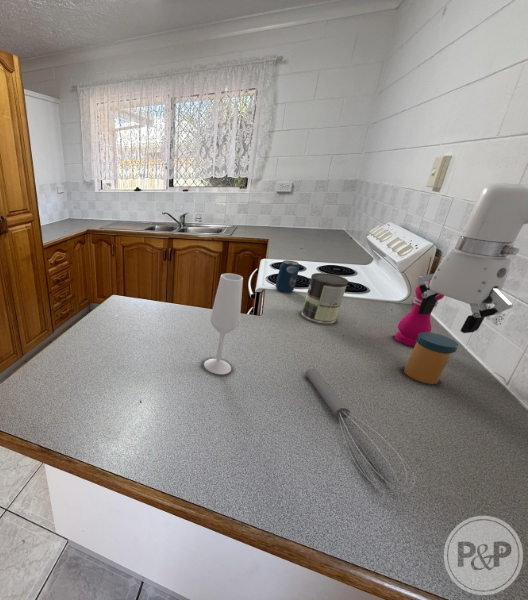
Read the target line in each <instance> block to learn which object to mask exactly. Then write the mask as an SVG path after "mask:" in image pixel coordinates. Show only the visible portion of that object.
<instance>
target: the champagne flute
mask: <svg viewBox="0 0 528 600" xmlns="http://www.w3.org/2000/svg"><path fill="white" fill-rule="evenodd" d="M219 277H220V278H219V282H218V286H217V289H216V294H215V298H214V302H213V304H212V310H211V314H210V317H209V320H210V323H211V325H212V327H213V328H214V329H215V330H216V332H218V333H219V337H218V338H219V339H218V345H217V351H216V357H215V358H209V359H207V360H205V361H204V363H203V366H204V368H205V369H206V370H207V371H208V372H210V373H212V374H215V375H226V374H229V373H230V372H231V371H232V366H231V365H230V363H228V362H227V361H225V360H223V359H222V356H223V349H224V344H225V337H226V334H229V333H231V332H234V331H235V330H236V329H237V328H239V326H240V323H241V312H242V311H241V309H242V299H243V296H242V295H243V283H244V278H243V276H242V275H240V274H236V273H221V275H220V276H219Z"/></svg>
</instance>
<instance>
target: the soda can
mask: <svg viewBox="0 0 528 600" xmlns="http://www.w3.org/2000/svg"><path fill="white" fill-rule="evenodd" d="M299 265H300V264H299V262H298V261H294V260H288V259H287V260H285V259H284V260H283V261H282V263H281V264H280V265H279V269H278V273H277V278H276V283H275V288H276V291H278V292H280V293H283V294H290V293H293V291H294V290H295V287H296V283H297V279H298V276H299V272H300V266H299Z"/></svg>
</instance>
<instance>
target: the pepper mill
mask: <svg viewBox="0 0 528 600" xmlns="http://www.w3.org/2000/svg"><path fill="white" fill-rule="evenodd" d="M430 282H431V280H429V285H430ZM419 287H420V285H419V284H418V285H417V286H416V288H415V290H414V293H415V295H416V296H415V297H414V299H413V300H412V302H413V307H412V308H411V310H410V311H409V312H408V313H407V314H406V315H405V316H404V317H402V318H401V319H400V320H399V321H398V323H397V329H398V331H397V332H396V334H395V337H394V339H395V340H396V341H397V342H398V343H400V344H403V345H405V346H410V347H414V346H415V344H416V338H417V336H418V335H419V333H421V332H430V333H432V323H431V314H432V313H431V314H424V315H420V314H418V312H419V307H420V305H421V303H422V300H423V297H422V292H421V290H420V288H419ZM435 298H436V299H437V302H436V304H435V306H434V308H437V307H438V304H439V301H440V300H442V299H443V298H445V295H442V294H440V295H438V296H436V297H435Z"/></svg>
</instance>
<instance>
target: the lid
mask: <svg viewBox="0 0 528 600" xmlns="http://www.w3.org/2000/svg"><path fill="white" fill-rule="evenodd" d="M416 342H417V343H418V344H420V345H421V346H423V347H425V348H428V349H430V350H433V351H437V352H441V353H452V354H454V353H456V352H457V349H458V347H459V343H458V342H457V341H456V340H454V339H452V338H451V337H448V336H445V335H443V334H439V333H435V332H421V333H419V335H418V336H417V338H416Z"/></svg>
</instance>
